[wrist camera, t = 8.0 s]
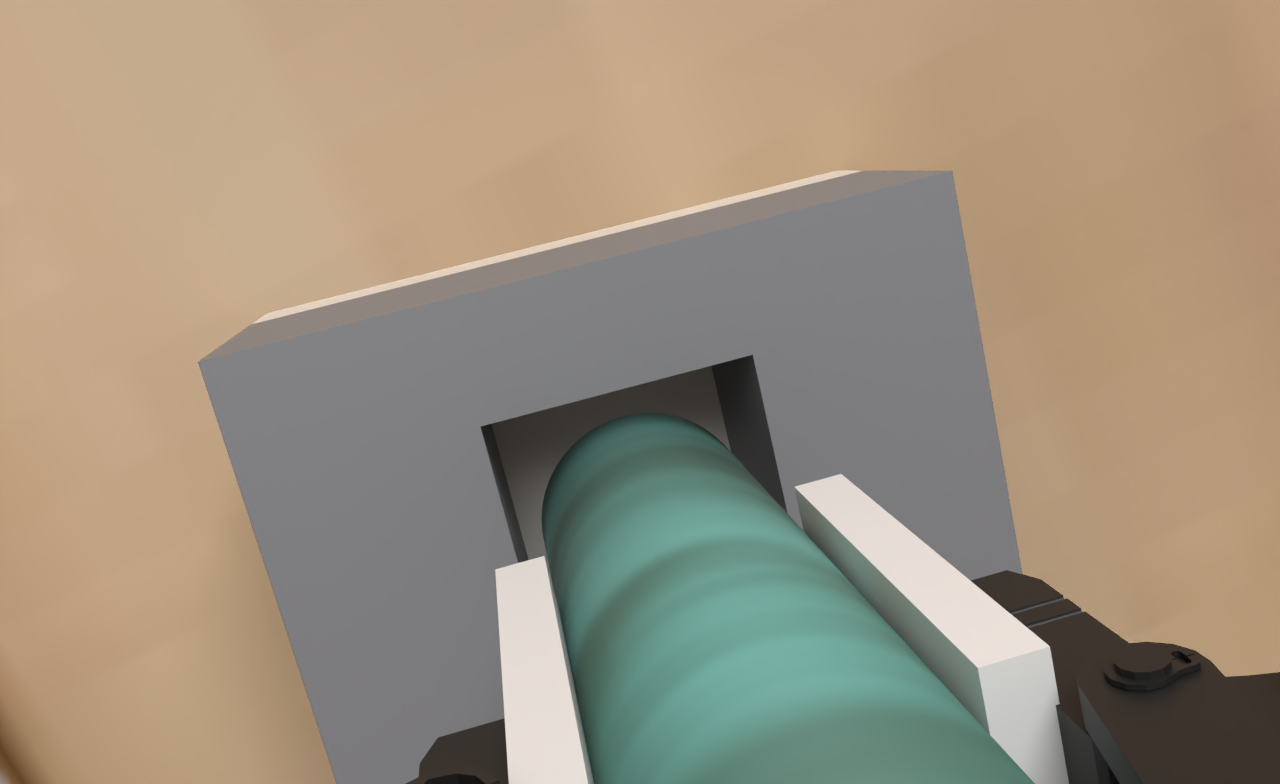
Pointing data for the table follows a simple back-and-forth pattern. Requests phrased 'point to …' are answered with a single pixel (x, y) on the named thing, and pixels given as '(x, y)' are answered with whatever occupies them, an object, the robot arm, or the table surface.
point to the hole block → (593, 421)
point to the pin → (731, 631)
